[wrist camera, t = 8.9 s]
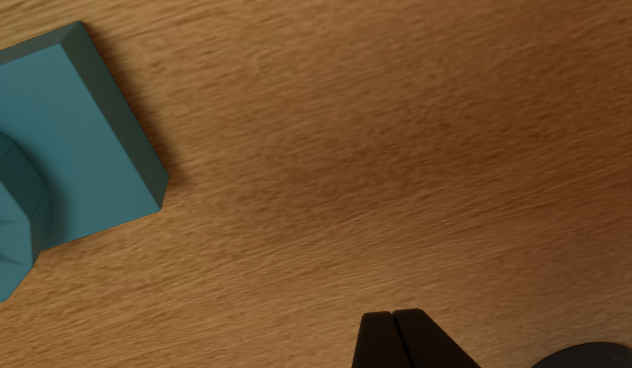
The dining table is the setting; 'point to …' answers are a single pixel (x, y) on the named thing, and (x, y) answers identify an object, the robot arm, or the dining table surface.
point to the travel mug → (590, 357)
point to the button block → (66, 151)
